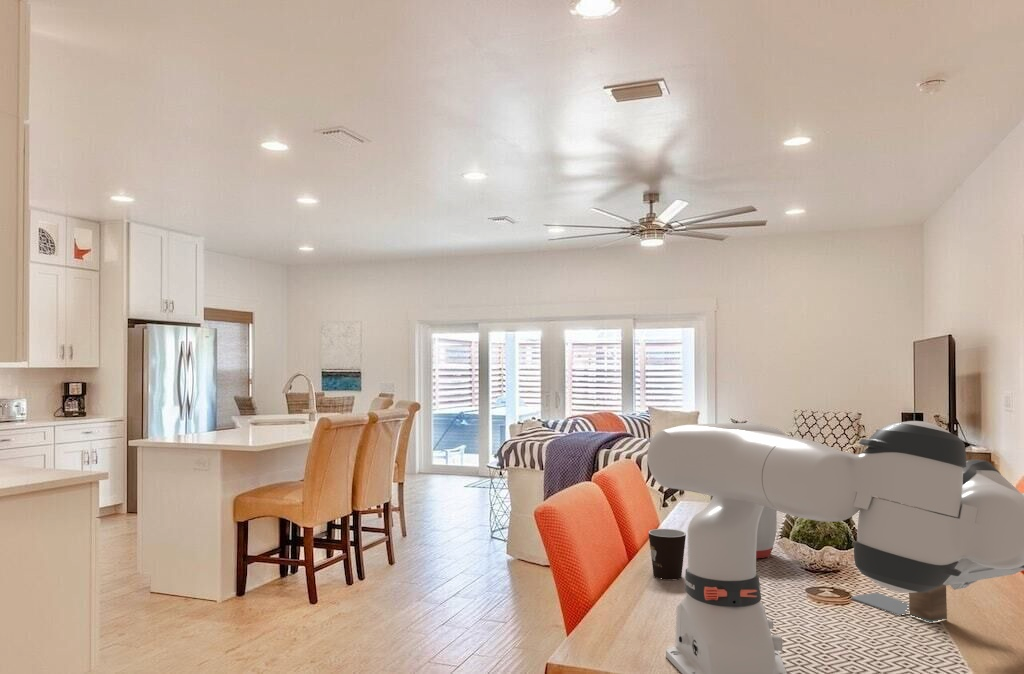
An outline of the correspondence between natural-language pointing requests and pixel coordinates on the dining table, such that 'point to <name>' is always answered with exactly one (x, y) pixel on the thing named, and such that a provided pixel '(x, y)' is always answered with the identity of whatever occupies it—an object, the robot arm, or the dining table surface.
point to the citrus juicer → (766, 532)
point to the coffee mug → (667, 552)
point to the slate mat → (883, 602)
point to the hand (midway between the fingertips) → (956, 585)
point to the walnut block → (929, 604)
